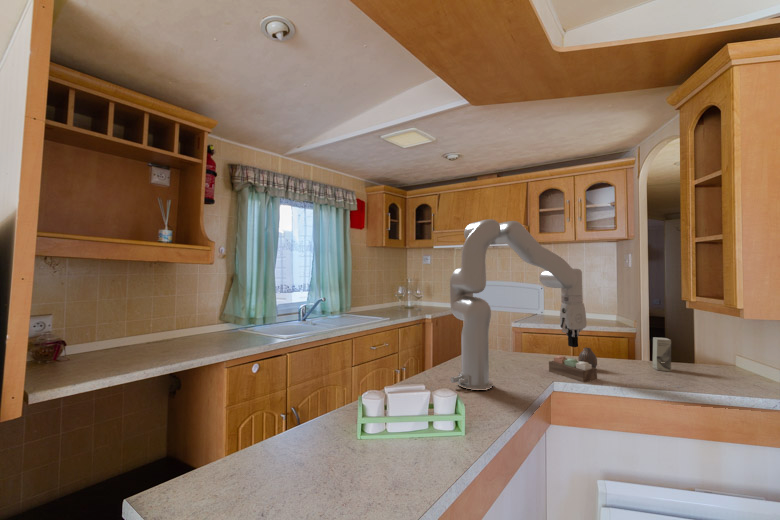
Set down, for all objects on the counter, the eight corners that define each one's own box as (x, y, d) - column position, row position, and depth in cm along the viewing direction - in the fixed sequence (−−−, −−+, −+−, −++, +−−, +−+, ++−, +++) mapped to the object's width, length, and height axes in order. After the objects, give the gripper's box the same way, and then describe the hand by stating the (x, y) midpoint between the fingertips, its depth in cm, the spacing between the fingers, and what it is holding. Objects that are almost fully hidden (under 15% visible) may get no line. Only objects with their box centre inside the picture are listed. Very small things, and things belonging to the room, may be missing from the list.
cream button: (585, 372, 134) (584, 364, 134) (575, 369, 137) (575, 362, 137) (591, 370, 135) (591, 363, 135) (582, 368, 139) (582, 360, 139)
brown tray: (583, 382, 132) (583, 371, 132) (548, 371, 145) (548, 361, 145) (597, 379, 135) (596, 368, 136) (562, 368, 149) (562, 359, 149)
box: (656, 370, 146) (656, 339, 147) (652, 367, 151) (652, 337, 151) (672, 371, 145) (671, 339, 145) (667, 368, 149) (666, 337, 149)
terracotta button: (562, 365, 142) (562, 358, 142) (553, 363, 146) (553, 356, 146) (568, 364, 144) (568, 357, 144) (560, 362, 147) (560, 355, 147)
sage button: (573, 368, 138) (573, 361, 138) (564, 366, 141) (564, 359, 141) (579, 367, 140) (579, 360, 140) (570, 365, 143) (570, 357, 143)
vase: (574, 368, 150) (574, 347, 150) (585, 366, 153) (585, 345, 153) (589, 372, 144) (589, 350, 144) (601, 370, 147) (600, 349, 147)
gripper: (567, 302, 134) (568, 351, 134) (593, 299, 141) (594, 346, 141) (550, 300, 141) (551, 346, 141) (575, 297, 147) (577, 342, 147)
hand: (573, 346), depth 141 cm, fingers closed
